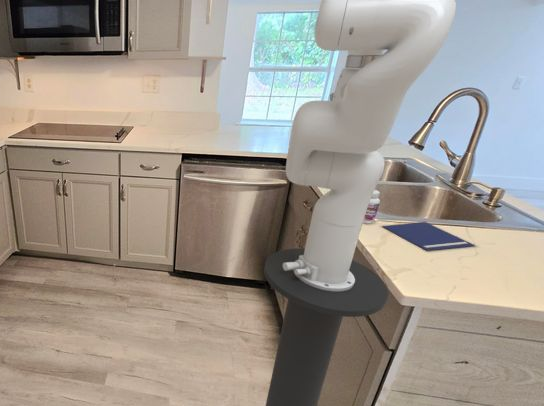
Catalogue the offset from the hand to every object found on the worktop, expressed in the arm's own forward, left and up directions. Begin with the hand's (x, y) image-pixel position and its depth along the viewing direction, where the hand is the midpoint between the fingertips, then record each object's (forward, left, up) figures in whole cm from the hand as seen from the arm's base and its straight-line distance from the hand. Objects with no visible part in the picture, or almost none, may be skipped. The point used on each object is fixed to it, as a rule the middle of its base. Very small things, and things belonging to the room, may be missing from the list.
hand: (347, 128), depth 101 cm
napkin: (+20, -14, -28) cm, 37 cm away
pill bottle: (+11, -2, -28) cm, 31 cm away
